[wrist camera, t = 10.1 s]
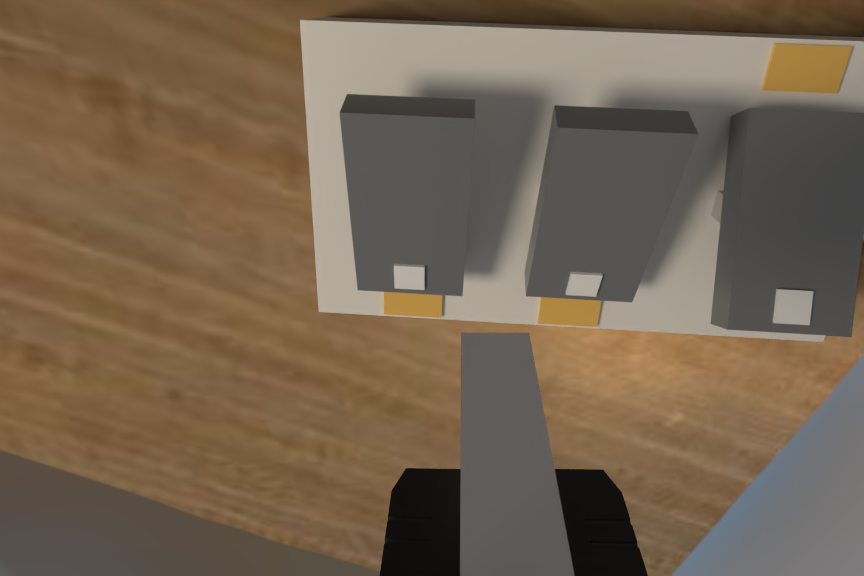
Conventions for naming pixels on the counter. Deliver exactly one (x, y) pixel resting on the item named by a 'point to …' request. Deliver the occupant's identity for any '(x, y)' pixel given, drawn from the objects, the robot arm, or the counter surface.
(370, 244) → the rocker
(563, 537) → the robot arm
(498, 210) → the switch unit
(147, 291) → the counter surface
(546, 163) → the block
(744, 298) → the block
